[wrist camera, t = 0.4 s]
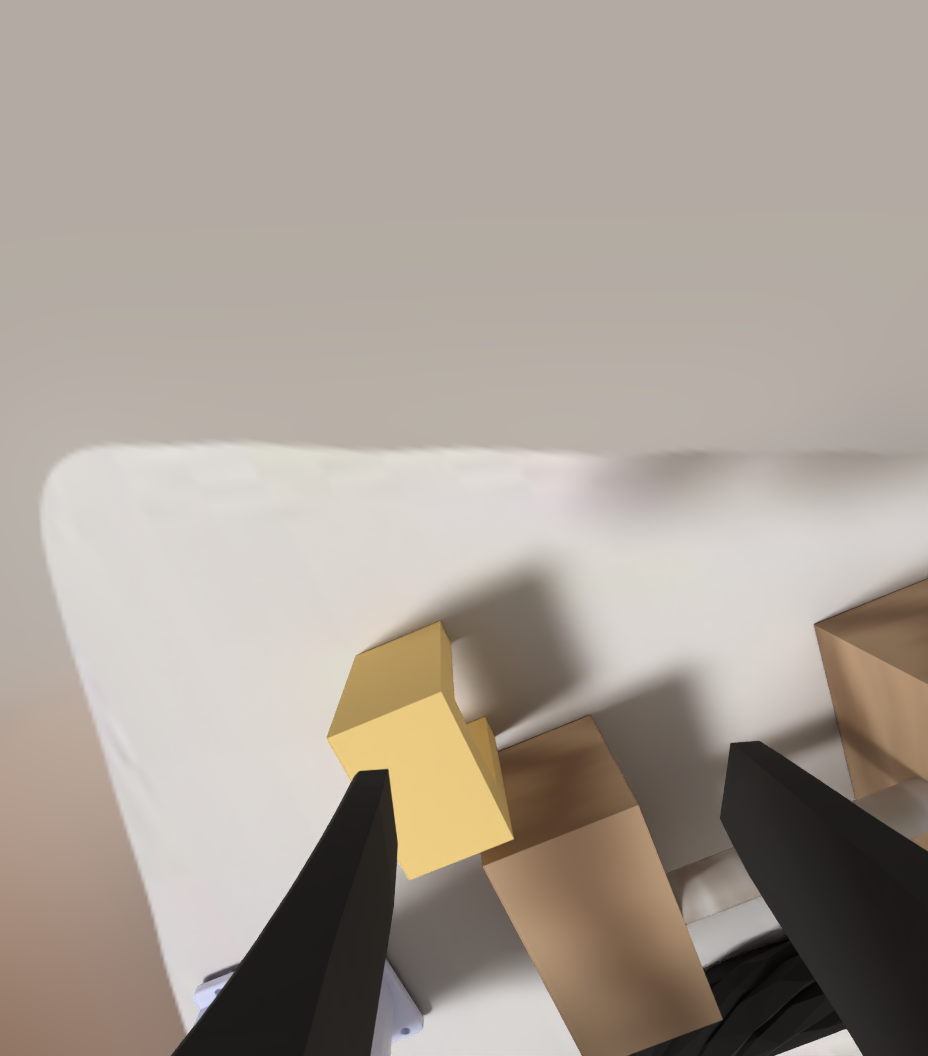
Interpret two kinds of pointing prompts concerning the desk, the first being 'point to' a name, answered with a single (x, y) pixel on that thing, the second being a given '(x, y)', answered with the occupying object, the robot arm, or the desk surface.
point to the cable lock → (759, 1008)
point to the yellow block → (423, 751)
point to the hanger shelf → (704, 886)
